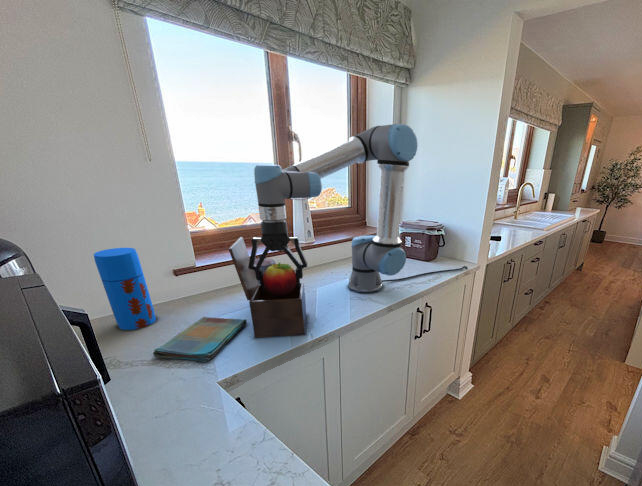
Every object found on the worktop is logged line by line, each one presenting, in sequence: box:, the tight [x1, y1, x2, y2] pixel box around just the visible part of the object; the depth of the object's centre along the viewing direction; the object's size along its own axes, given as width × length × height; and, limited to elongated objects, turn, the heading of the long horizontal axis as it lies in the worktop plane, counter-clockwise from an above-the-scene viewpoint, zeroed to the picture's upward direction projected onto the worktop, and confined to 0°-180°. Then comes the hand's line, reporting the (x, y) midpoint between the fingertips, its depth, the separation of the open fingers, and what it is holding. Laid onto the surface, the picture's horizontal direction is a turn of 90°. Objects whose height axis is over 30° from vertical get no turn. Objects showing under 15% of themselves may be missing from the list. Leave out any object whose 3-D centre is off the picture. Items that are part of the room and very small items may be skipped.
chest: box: [248, 282, 307, 339], centre depth 109 cm, size 16×15×13 cm
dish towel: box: [152, 316, 248, 363], centre depth 102 cm, size 17×23×2 cm
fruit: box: [263, 262, 297, 295], centre depth 105 cm, size 11×11×10 cm
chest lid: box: [228, 236, 258, 301], centre depth 101 cm, size 16×15×1 cm
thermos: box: [93, 247, 157, 331], centre depth 106 cm, size 11×11×25 cm
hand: (281, 288), depth 106 cm, fingers closed on fruit, 10 cm apart
